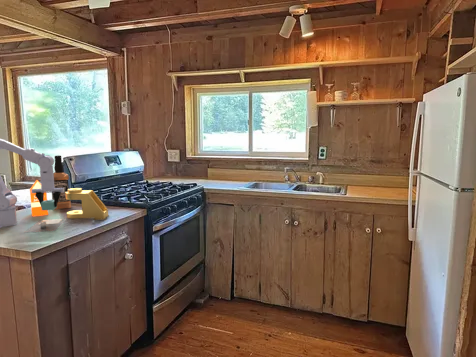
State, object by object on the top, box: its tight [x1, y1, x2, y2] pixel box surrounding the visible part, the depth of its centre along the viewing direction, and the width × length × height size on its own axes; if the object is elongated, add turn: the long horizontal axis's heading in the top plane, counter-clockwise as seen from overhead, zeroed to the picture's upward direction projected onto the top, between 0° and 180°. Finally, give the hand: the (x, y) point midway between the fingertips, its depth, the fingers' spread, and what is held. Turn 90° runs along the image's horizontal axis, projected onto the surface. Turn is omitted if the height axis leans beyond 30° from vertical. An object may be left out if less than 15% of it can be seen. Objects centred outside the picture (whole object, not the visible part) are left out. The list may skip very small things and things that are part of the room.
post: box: [40, 221, 46, 229], centre depth 160 cm, size 2×2×3 cm
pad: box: [38, 218, 64, 225], centre depth 171 cm, size 9×9×1 cm
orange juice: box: [29, 179, 49, 217], centre depth 186 cm, size 8×9×20 cm
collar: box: [41, 199, 57, 211], centre depth 169 cm, size 5×5×4 cm
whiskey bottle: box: [51, 154, 72, 210], centre depth 206 cm, size 10×10×32 cm
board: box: [23, 218, 68, 234], centre depth 165 cm, size 13×21×1 cm, turn 13°
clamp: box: [65, 187, 109, 221], centre depth 183 cm, size 20×9×16 cm, turn 97°
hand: (49, 206), depth 170 cm, fingers closed on collar, 5 cm apart
